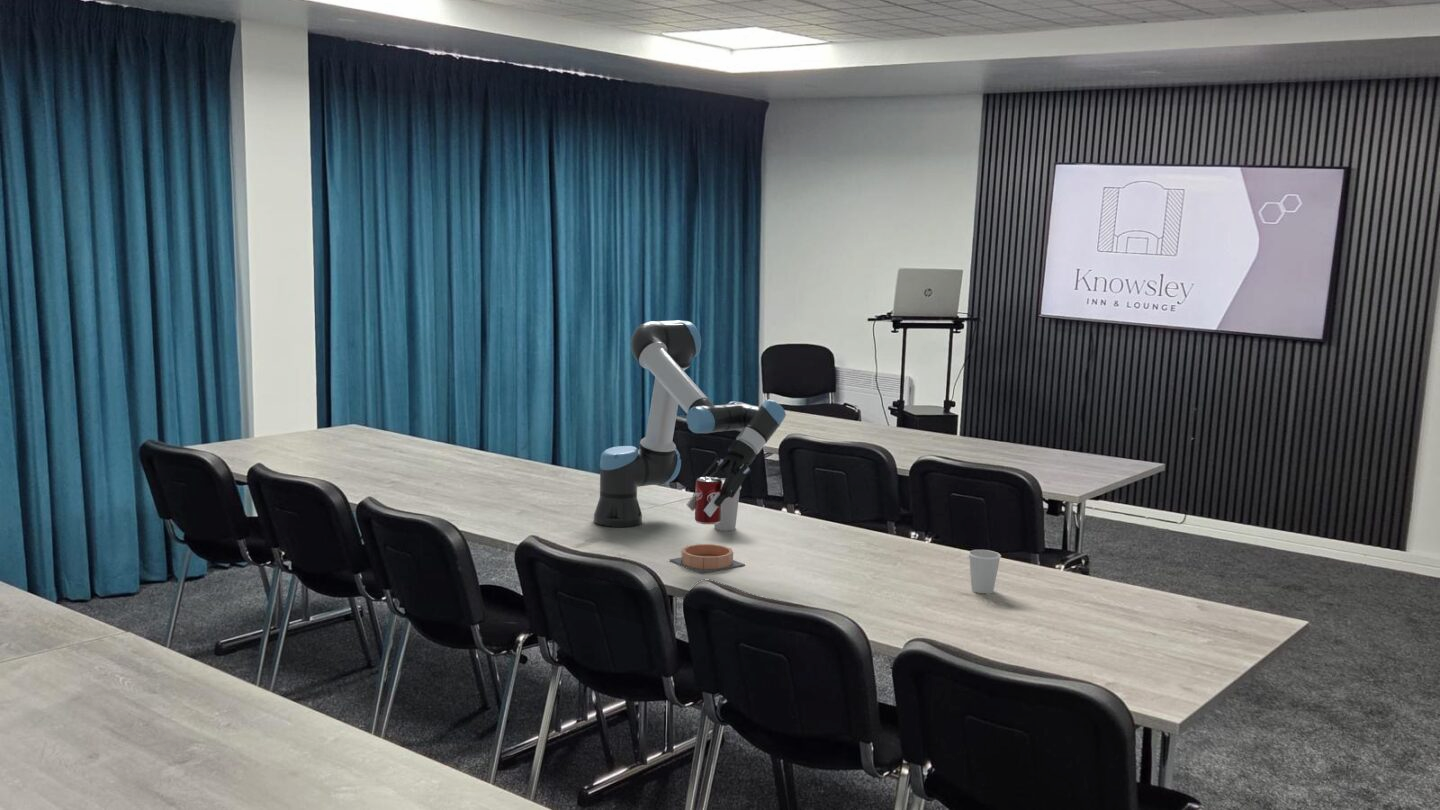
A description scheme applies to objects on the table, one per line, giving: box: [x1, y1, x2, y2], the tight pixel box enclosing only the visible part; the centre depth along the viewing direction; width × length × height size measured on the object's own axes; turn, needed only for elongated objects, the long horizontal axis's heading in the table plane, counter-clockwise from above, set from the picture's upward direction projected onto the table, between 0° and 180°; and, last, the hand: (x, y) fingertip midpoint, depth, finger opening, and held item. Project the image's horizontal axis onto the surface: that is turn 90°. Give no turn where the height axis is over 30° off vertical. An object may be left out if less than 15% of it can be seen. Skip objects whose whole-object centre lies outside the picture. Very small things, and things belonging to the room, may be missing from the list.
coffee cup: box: [713, 478, 742, 532], centre depth 369 cm, size 10×10×15 cm
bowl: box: [668, 543, 746, 575], centre depth 329 cm, size 15×15×4 cm
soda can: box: [694, 476, 722, 526], centre depth 327 cm, size 7×7×12 cm
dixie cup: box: [968, 549, 1002, 595], centre depth 311 cm, size 8×8×10 cm
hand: (698, 510), depth 325 cm, fingers closed on soda can, 7 cm apart
